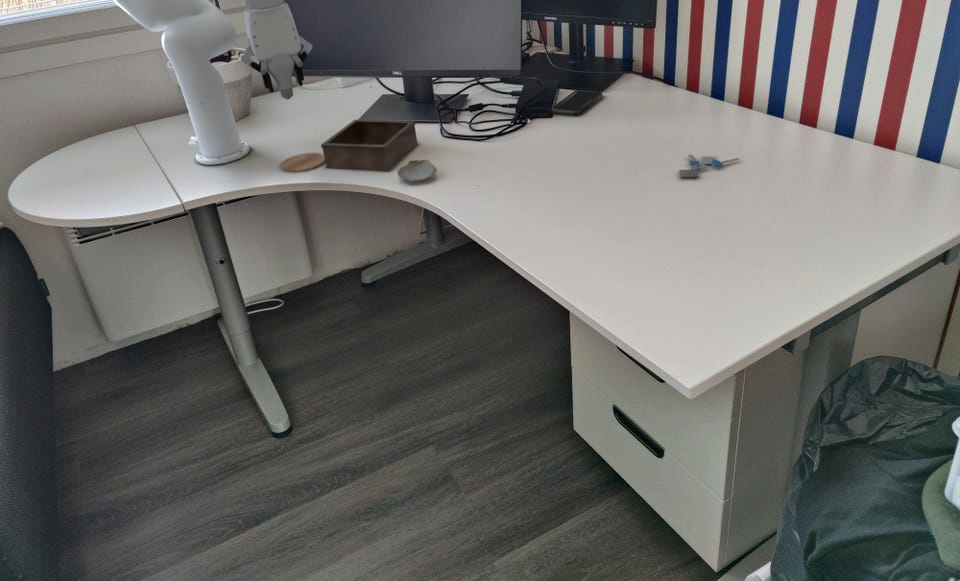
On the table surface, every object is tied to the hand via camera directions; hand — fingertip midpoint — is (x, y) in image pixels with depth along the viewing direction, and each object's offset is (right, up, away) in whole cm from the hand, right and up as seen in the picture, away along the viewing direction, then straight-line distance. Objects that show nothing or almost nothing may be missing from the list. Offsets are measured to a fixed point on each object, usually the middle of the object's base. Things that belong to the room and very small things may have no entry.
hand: (285, 86), depth 160 cm
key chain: (+86, -19, -13) cm, 89 cm away
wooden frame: (+18, -13, +9) cm, 24 cm away
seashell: (+29, -21, -4) cm, 36 cm away
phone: (+67, +2, +25) cm, 71 cm away
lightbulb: (0, -2, +2) cm, 3 cm away
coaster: (+2, -15, +9) cm, 18 cm away
